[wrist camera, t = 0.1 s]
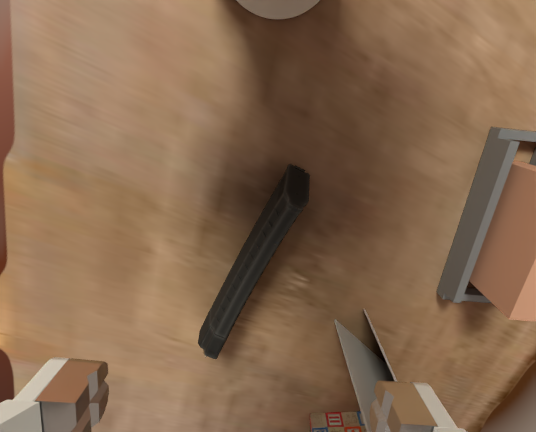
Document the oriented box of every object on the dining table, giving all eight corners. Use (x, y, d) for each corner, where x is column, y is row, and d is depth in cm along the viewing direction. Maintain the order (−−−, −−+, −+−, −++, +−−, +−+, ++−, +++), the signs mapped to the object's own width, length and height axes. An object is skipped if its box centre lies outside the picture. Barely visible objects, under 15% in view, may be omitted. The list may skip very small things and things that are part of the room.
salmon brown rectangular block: (496, 159, 47) (569, 182, 36) (520, 161, 47) (600, 185, 36) (458, 270, 54) (508, 319, 42) (479, 272, 54) (535, 321, 43)
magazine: (304, 158, 38) (190, 393, 39) (328, 171, 38) (215, 402, 39) (278, 165, 55) (199, 328, 56) (295, 174, 55) (217, 335, 56)
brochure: (333, 319, 57) (400, 546, 29) (364, 308, 56) (464, 530, 28) (361, 377, 62) (441, 620, 34) (390, 367, 61) (496, 607, 33)
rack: (491, 126, 45) (514, 131, 41) (623, 140, 46) (659, 146, 42) (436, 291, 55) (450, 308, 51) (547, 300, 56) (570, 318, 52)
